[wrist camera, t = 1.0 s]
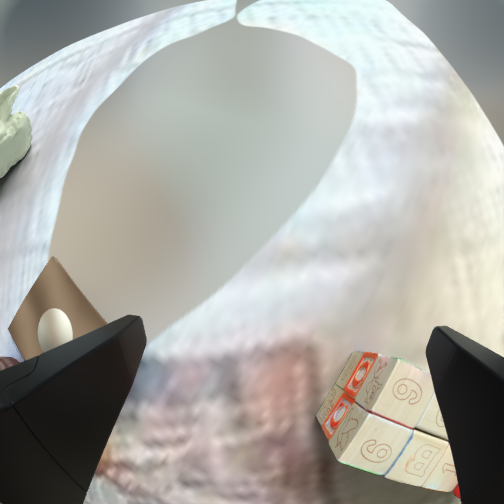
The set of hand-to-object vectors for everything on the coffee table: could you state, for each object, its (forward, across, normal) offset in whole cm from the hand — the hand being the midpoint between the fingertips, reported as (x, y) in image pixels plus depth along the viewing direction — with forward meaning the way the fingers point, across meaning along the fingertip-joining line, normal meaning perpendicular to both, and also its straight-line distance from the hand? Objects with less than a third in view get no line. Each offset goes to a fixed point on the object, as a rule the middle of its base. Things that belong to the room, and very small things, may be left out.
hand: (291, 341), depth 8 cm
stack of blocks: (+7, -14, +16) cm, 22 cm away
